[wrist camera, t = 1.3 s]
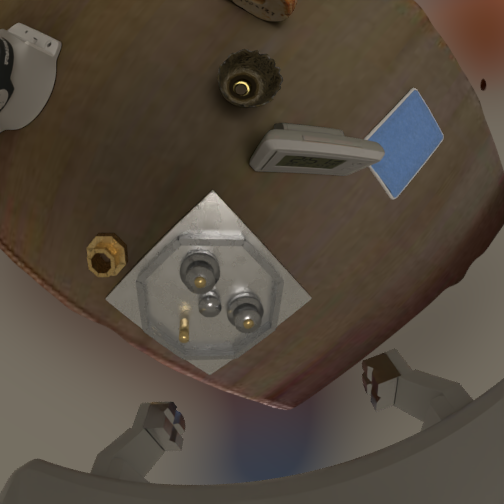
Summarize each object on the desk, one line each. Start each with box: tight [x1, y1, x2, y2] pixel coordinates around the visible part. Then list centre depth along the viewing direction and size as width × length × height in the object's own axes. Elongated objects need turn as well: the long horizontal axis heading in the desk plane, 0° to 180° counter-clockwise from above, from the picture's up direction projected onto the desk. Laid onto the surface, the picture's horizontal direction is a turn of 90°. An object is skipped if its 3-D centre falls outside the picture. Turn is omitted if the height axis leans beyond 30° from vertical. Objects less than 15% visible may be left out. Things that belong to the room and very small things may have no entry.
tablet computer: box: [364, 88, 444, 199], centre depth 40 cm, size 19×13×1 cm, turn 137°
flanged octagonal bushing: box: [87, 233, 128, 277], centre depth 37 cm, size 6×6×4 cm
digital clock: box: [250, 123, 385, 176], centre depth 34 cm, size 16×9×11 cm, turn 77°
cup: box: [217, 49, 283, 108], centre depth 30 cm, size 8×7×8 cm
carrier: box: [106, 190, 312, 375], centre depth 42 cm, size 25×25×6 cm
